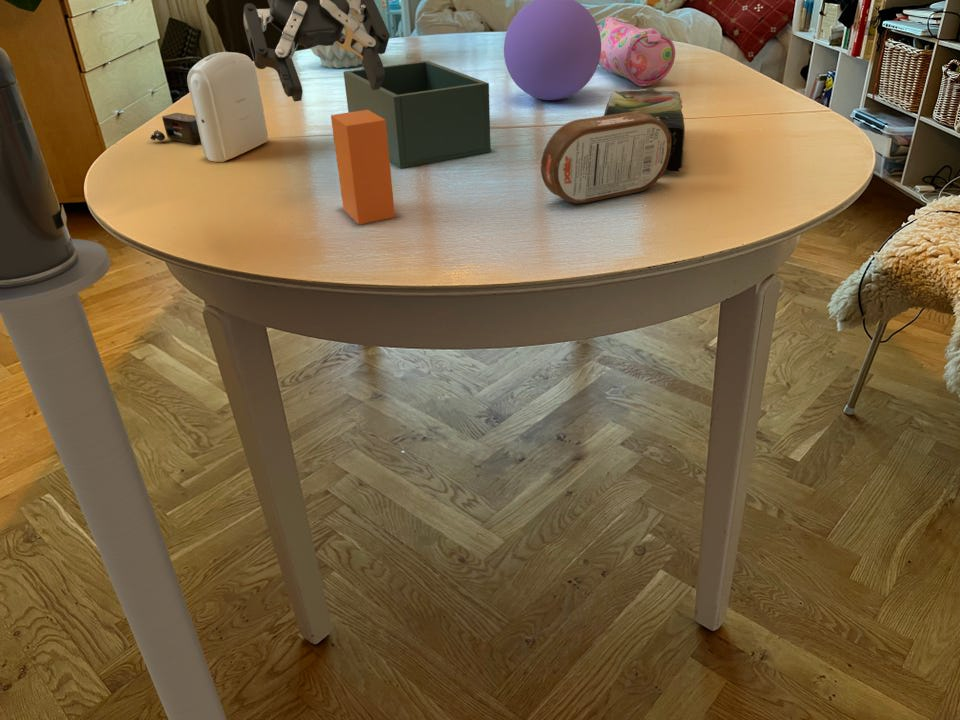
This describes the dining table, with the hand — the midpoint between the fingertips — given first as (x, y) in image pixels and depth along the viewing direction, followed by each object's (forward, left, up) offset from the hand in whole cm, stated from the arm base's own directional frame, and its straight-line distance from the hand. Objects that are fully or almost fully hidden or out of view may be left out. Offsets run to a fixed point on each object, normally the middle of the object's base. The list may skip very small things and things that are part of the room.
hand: (338, 90), depth 78 cm
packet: (0, -5, -12) cm, 13 cm away
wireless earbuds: (-13, +37, -12) cm, 41 cm away
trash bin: (+15, +17, -12) cm, 25 cm away
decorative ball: (+43, +28, -12) cm, 53 cm away
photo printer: (-7, +27, -12) cm, 30 cm away
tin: (+24, -14, -12) cm, 30 cm away
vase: (+25, +78, -12) cm, 83 cm away
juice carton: (+37, -3, -12) cm, 39 cm away
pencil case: (+63, +35, -12) cm, 73 cm away
